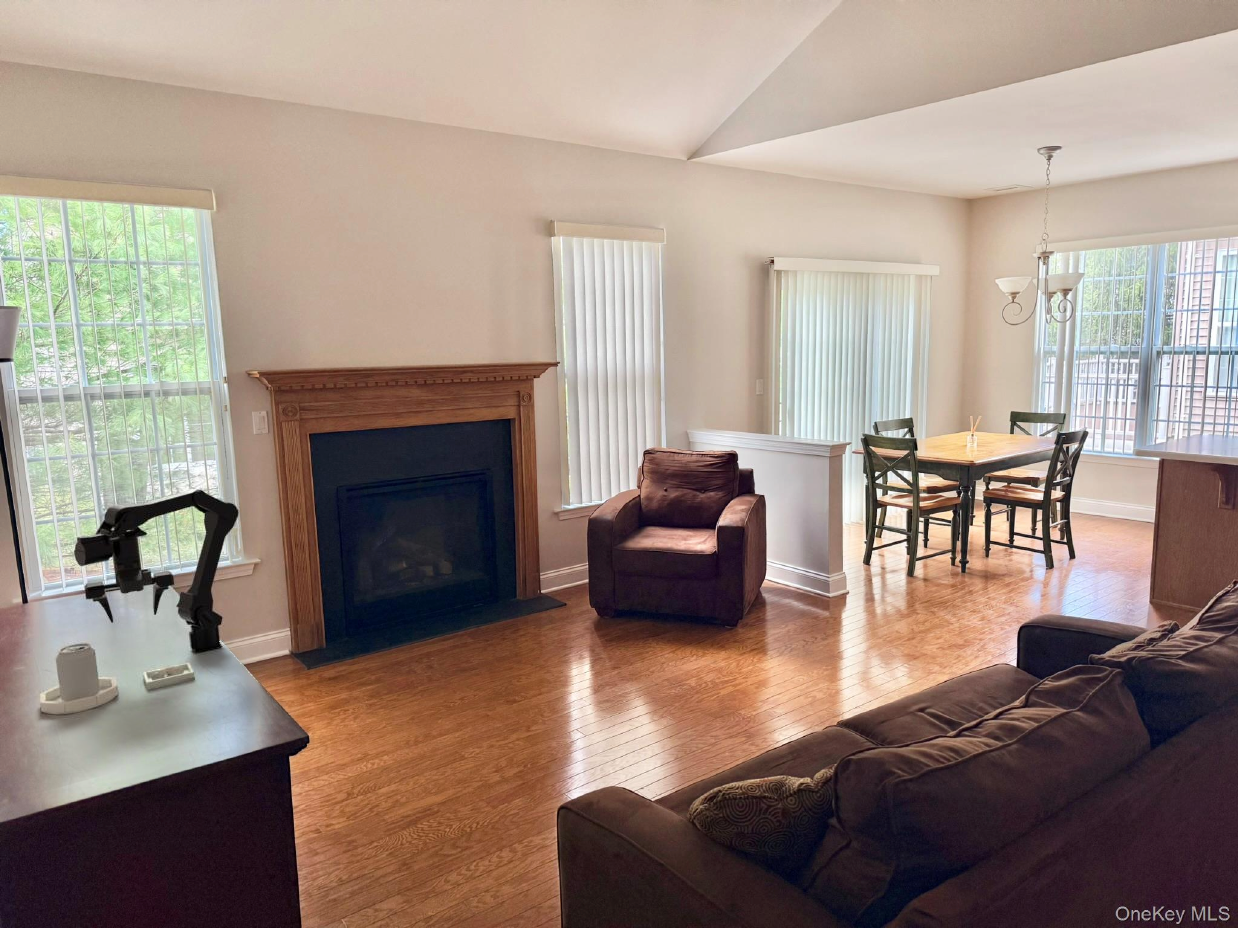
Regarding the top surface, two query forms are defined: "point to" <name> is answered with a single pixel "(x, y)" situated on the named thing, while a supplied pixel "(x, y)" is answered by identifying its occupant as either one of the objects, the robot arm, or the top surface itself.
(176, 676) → the pebble tray
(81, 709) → the bowl
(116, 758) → the top surface
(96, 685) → the can
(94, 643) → the top surface
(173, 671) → the pebbles
